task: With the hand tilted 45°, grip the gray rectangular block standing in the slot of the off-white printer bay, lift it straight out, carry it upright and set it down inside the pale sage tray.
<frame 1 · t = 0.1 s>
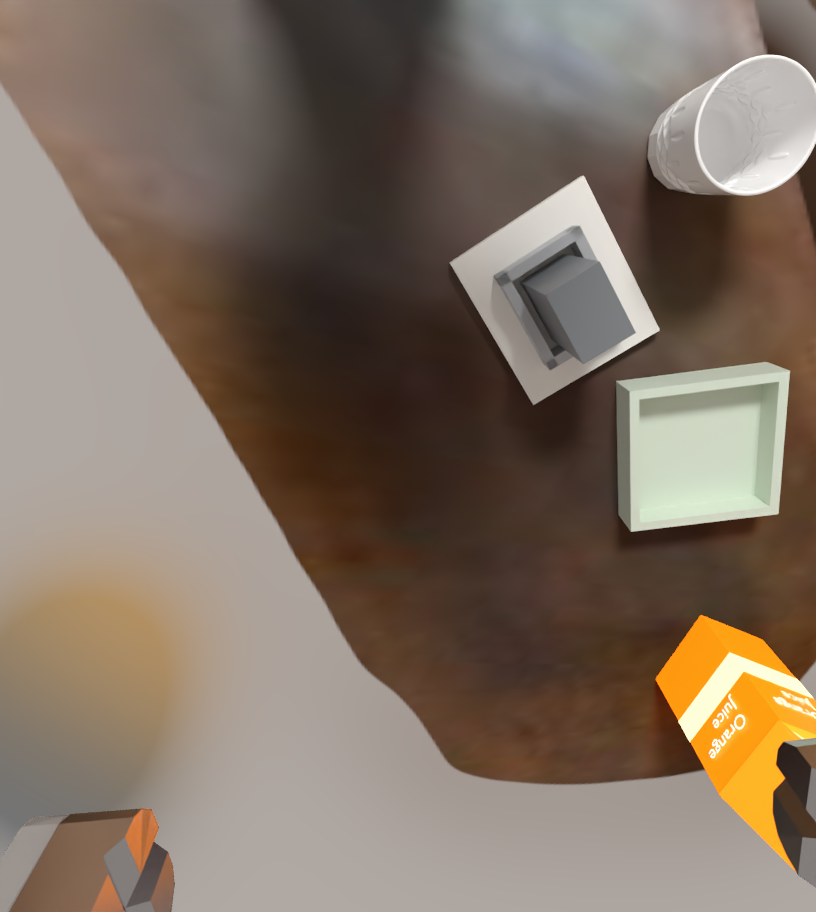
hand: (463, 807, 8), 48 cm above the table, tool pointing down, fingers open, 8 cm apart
white cup: (688, 145, 49), on the table
orange juice: (707, 658, 66), on the table
gray rectangular block: (557, 297, 52), point 1 cm above the table, touching printer bay
printer bay: (554, 295, 53), on the table
sage tray: (689, 441, 57), on the table
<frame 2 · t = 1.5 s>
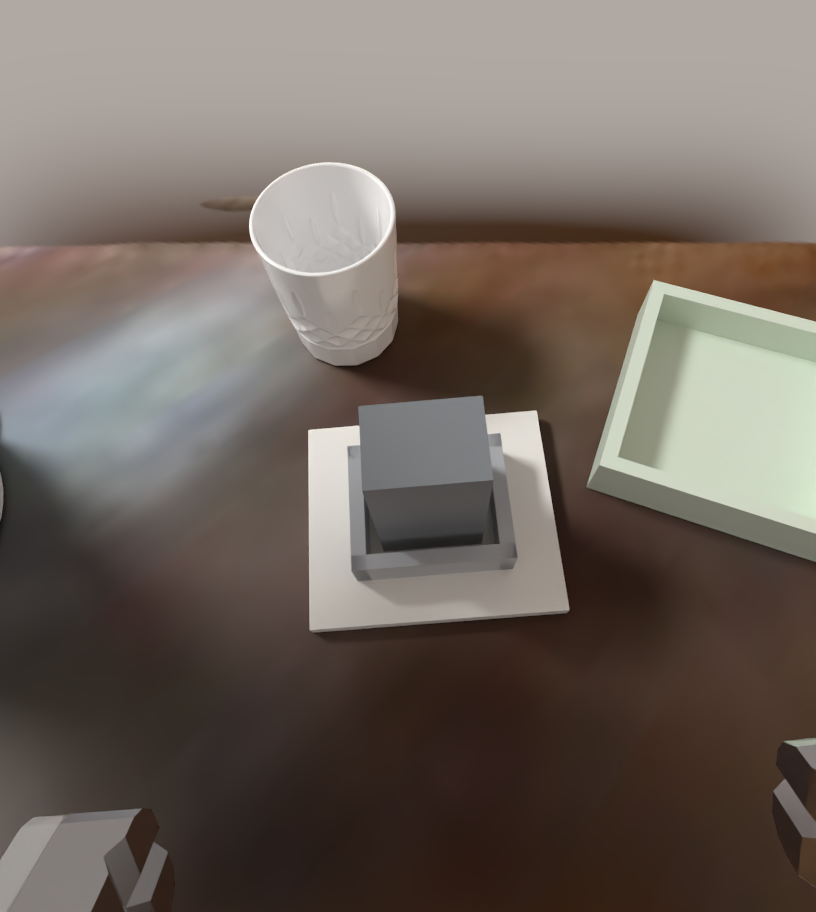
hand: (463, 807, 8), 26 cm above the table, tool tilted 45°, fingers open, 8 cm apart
white cup: (349, 326, 43), on the table
gray rectangular block: (429, 513, 36), point 1 cm above the table, touching printer bay
printer bay: (430, 518, 37), on the table
sage tray: (719, 427, 39), on the table
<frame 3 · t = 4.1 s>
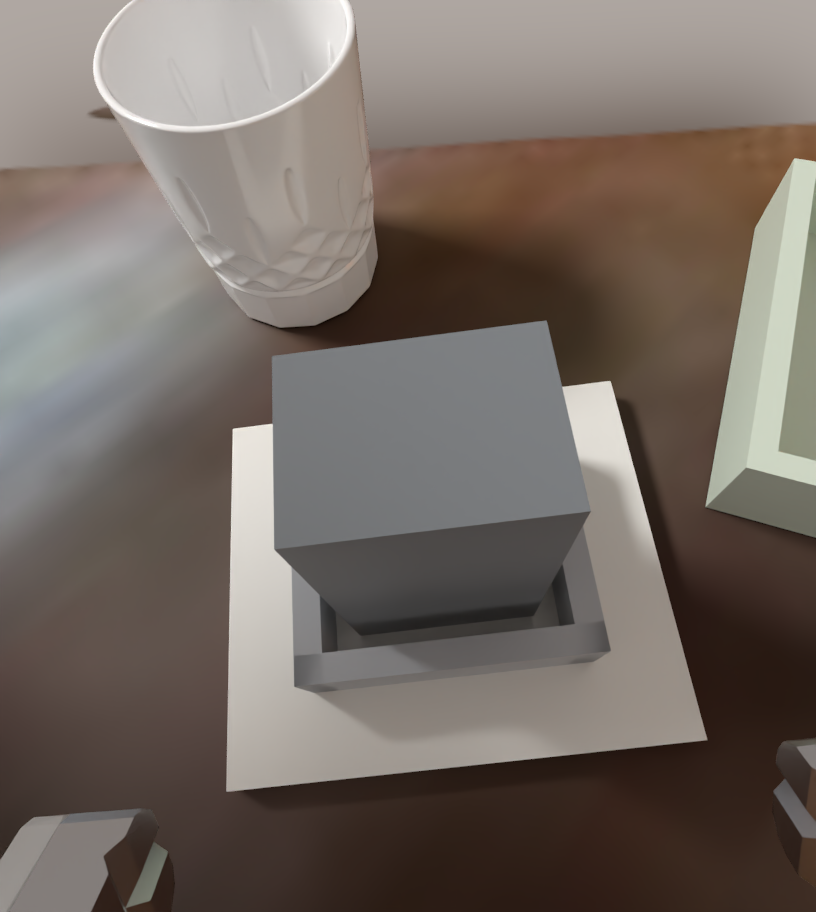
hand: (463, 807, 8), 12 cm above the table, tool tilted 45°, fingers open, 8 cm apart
white cup: (302, 269, 28), on the table
gray rectangular block: (439, 564, 21), point 1 cm above the table, touching printer bay
printer bay: (440, 571, 22), on the table
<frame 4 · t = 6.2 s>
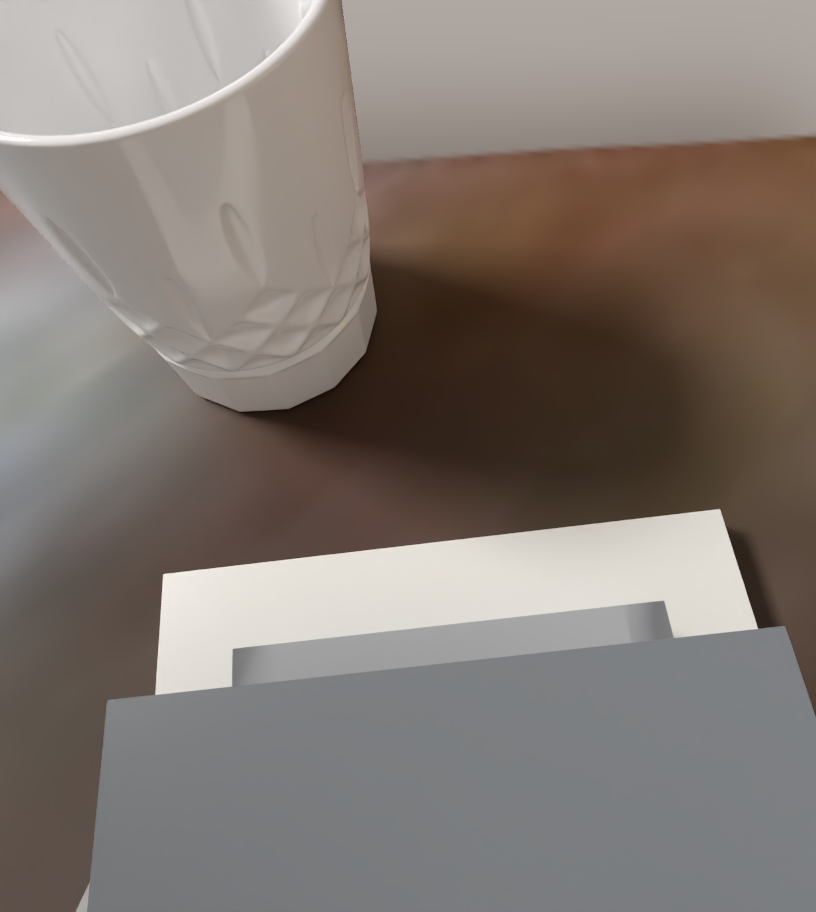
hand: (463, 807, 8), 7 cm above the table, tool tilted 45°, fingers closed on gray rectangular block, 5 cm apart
white cup: (274, 326, 21), on the table
gray rectangular block: (469, 815, 13), point 1 cm above the table, touching gripper, printer bay
printer bay: (469, 811, 14), on the table
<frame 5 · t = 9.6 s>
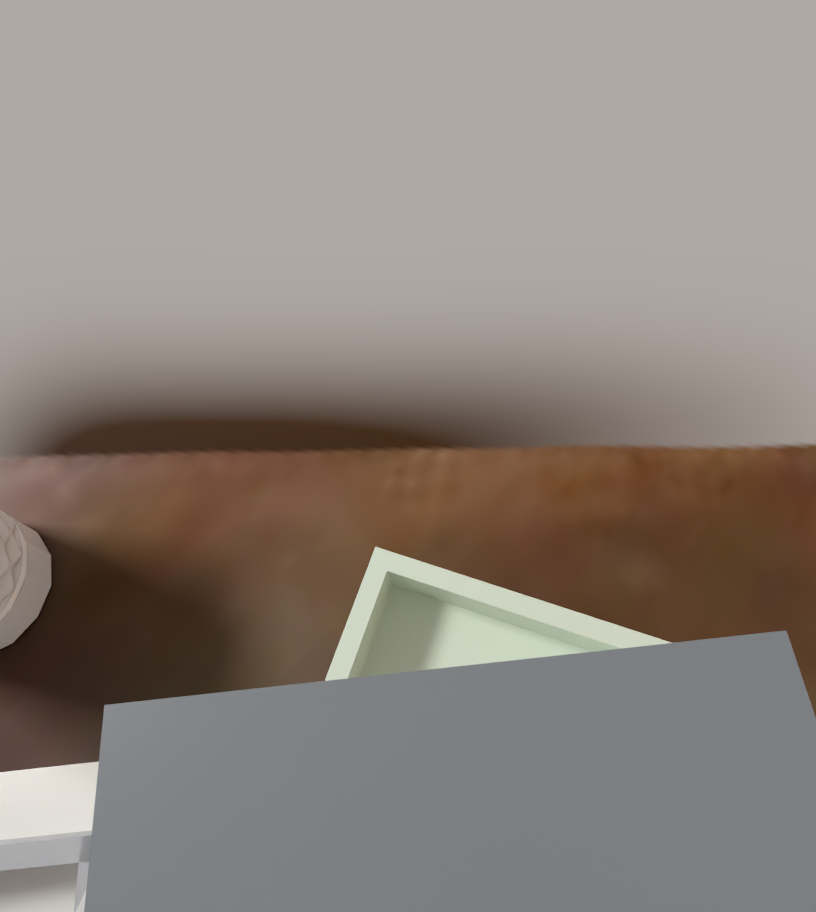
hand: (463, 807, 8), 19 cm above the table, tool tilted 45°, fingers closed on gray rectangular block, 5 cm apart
gray rectangular block: (469, 818, 13), point 14 cm above the table, touching gripper
sage tray: (478, 766, 26), on the table
when the fingers open (8 cm above the table, at t = 12.8 s): gray rectangular block drops 1 cm, resting on sage tray.
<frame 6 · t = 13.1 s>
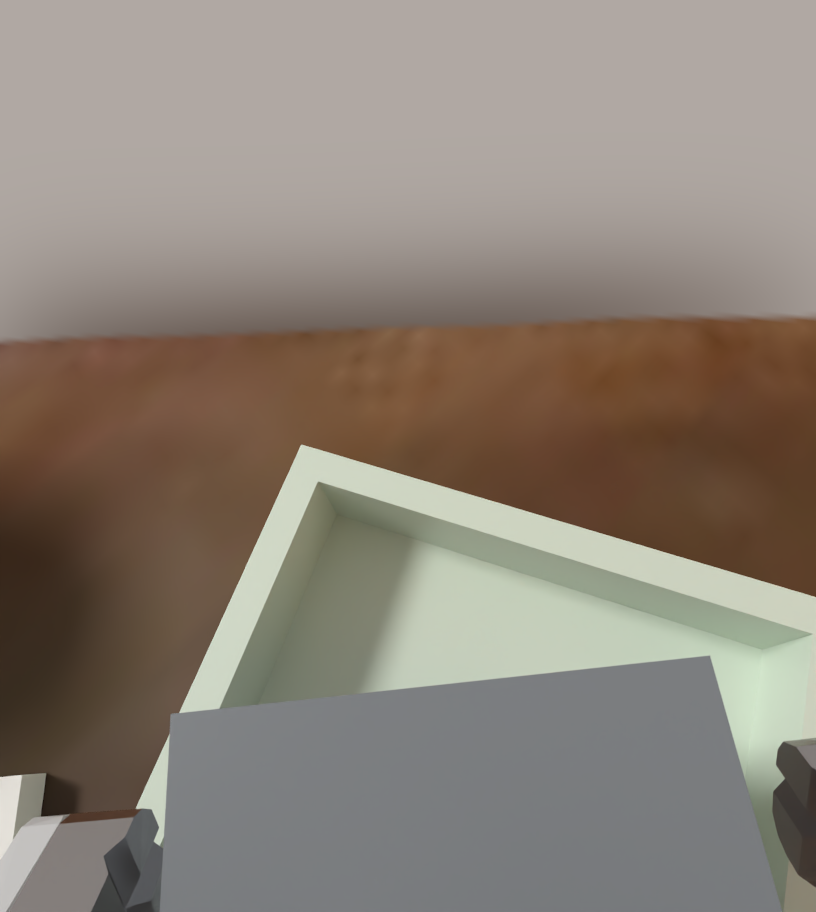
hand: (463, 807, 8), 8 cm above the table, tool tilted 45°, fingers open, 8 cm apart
gray rectangular block: (465, 811, 15), point 1 cm above the table, touching sage tray
sage tray: (470, 804, 16), on the table
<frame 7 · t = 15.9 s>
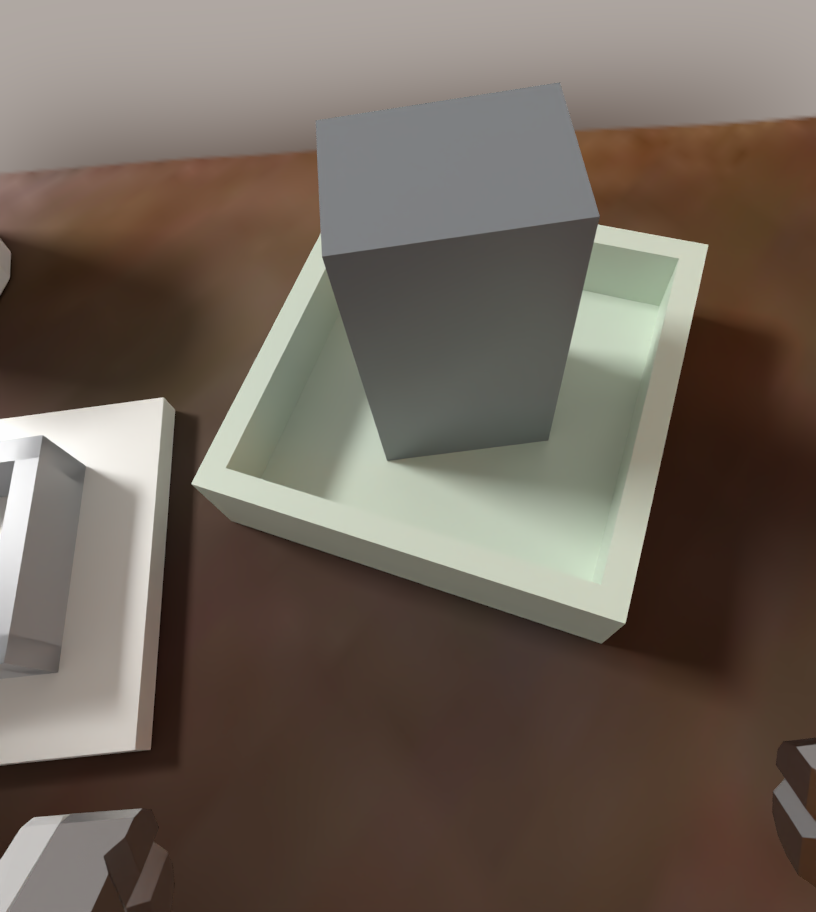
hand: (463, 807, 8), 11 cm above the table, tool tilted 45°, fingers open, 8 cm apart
gray rectangular block: (459, 399, 22), point 1 cm above the table, touching sage tray
sage tray: (463, 411, 23), on the table
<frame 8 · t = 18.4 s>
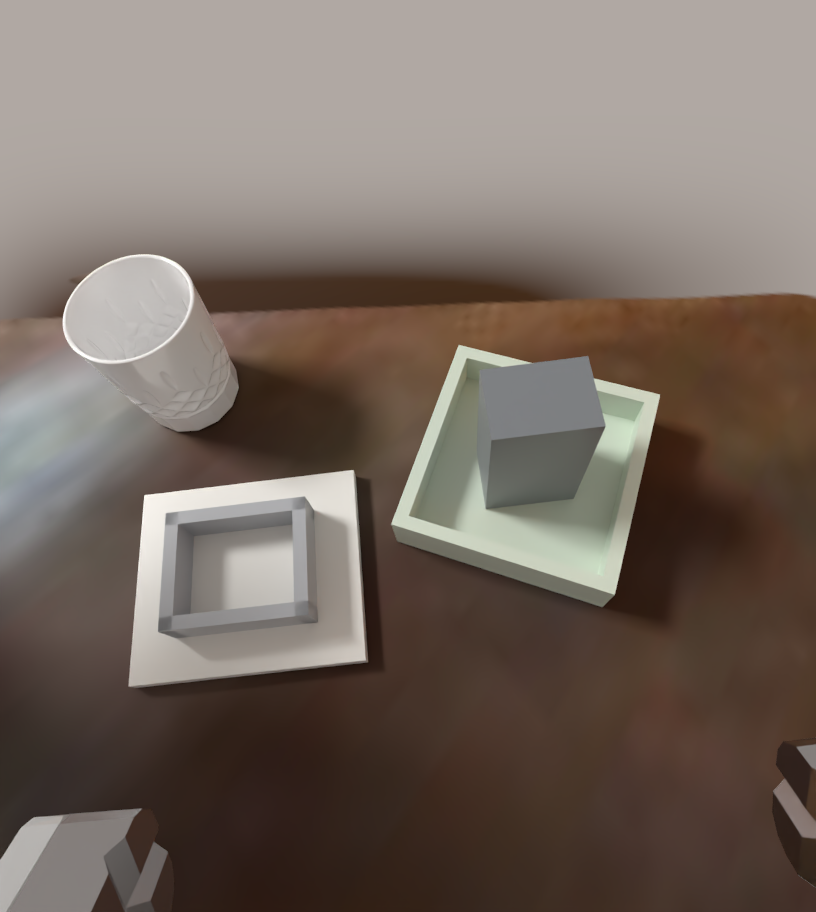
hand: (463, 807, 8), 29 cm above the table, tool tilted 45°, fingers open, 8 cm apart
white cup: (195, 393, 46), on the table
gray rectangular block: (523, 474, 40), point 1 cm above the table, touching sage tray
printer bay: (252, 575, 40), on the table
sage tray: (524, 479, 41), on the table
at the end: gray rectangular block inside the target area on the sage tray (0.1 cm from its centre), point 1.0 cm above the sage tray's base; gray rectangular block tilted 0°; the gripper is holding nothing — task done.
